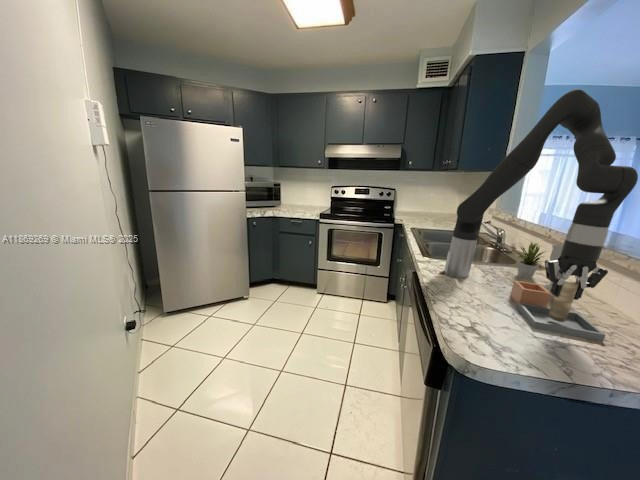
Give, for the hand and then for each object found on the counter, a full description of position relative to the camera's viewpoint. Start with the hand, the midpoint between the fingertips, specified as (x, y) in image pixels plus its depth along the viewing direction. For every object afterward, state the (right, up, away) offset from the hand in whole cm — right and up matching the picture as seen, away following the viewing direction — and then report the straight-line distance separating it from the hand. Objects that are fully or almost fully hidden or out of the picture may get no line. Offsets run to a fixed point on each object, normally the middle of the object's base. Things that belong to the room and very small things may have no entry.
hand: (564, 296), depth 75 cm
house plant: (+21, 0, +43) cm, 48 cm away
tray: (-1, -9, +3) cm, 10 cm away
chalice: (+21, -4, +28) cm, 35 cm away
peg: (0, -7, +2) cm, 7 cm away
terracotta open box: (0, -6, +14) cm, 16 cm away
